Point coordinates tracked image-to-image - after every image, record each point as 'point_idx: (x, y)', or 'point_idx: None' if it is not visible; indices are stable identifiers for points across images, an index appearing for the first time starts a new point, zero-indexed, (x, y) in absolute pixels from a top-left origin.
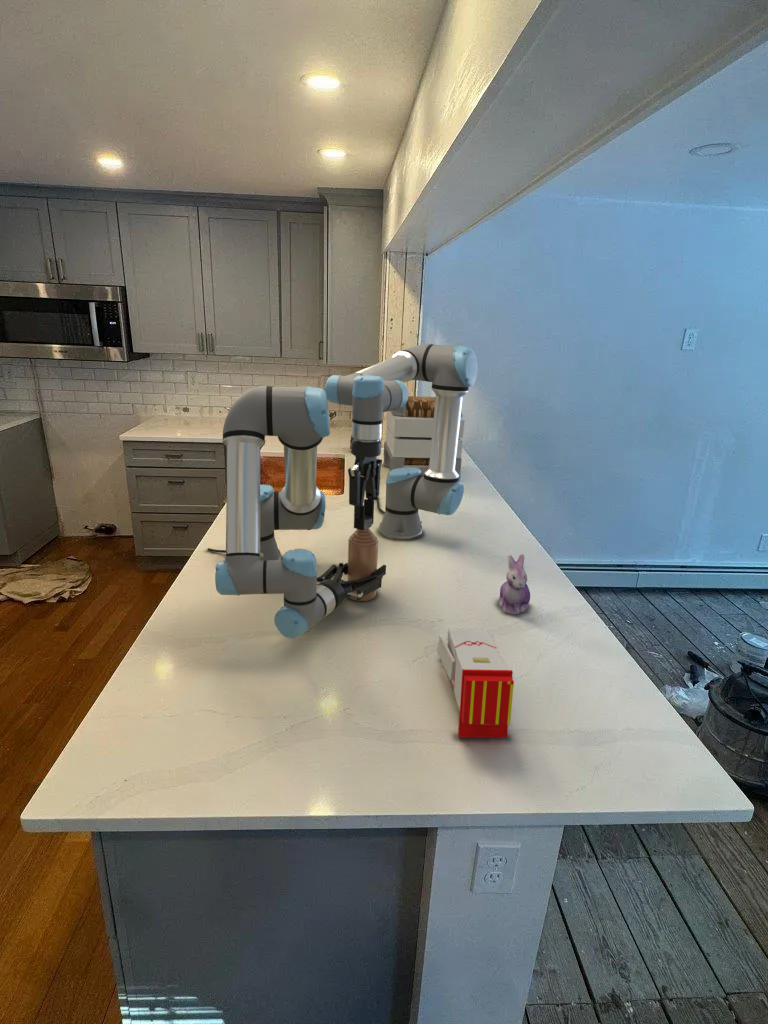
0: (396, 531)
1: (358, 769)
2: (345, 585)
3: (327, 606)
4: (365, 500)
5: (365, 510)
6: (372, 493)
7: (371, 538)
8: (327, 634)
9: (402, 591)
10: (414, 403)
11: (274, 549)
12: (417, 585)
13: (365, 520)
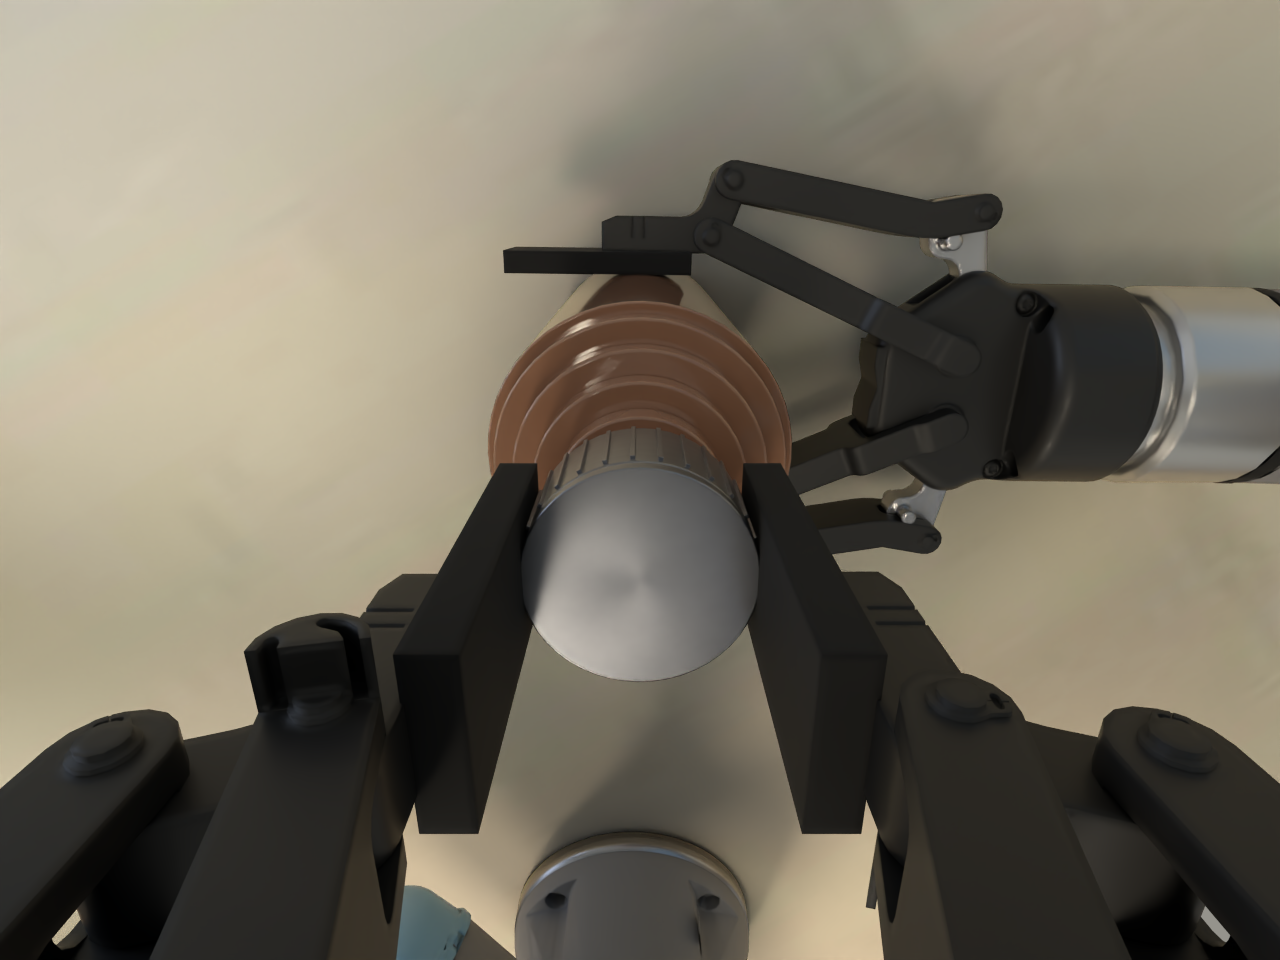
0: None
1: None
2: (959, 337)
3: (1250, 291)
4: (479, 796)
5: (516, 658)
6: (363, 832)
7: (665, 362)
8: (1119, 271)
9: (463, 142)
10: None
11: (611, 916)
12: (325, 90)
13: (732, 507)
